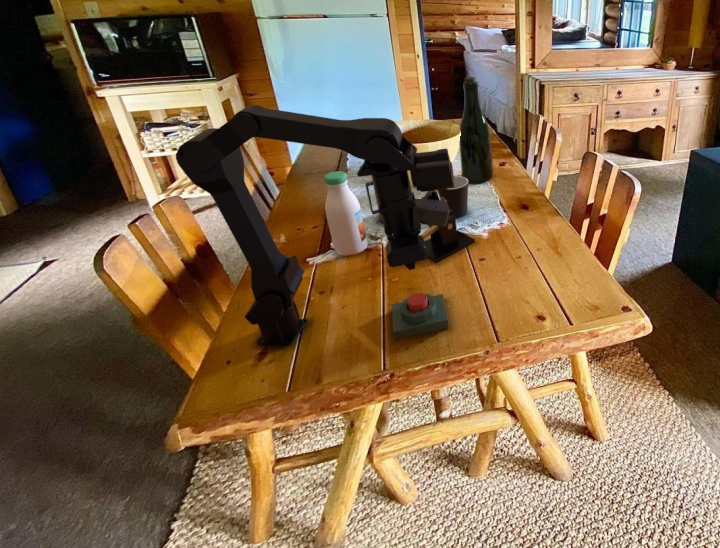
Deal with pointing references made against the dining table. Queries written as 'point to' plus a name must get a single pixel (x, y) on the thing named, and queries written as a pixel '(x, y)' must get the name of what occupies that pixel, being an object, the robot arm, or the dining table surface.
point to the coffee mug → (456, 197)
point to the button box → (419, 318)
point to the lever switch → (446, 241)
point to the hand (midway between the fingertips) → (412, 268)
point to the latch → (429, 231)
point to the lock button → (417, 302)
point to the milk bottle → (344, 216)
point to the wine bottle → (474, 138)
